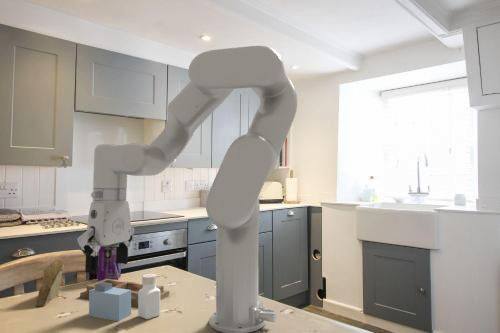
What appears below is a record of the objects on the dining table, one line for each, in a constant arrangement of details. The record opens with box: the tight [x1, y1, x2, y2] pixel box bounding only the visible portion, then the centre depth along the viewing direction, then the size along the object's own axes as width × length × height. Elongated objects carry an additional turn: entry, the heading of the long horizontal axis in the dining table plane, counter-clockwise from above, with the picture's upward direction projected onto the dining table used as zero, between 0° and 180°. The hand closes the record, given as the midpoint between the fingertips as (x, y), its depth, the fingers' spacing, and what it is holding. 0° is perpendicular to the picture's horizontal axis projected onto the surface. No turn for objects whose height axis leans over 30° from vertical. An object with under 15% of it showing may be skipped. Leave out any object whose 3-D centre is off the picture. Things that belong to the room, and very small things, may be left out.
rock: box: [34, 260, 65, 307], centre depth 97 cm, size 11×9×10 cm
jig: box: [79, 279, 170, 307], centre depth 99 cm, size 22×10×3 cm, turn 68°
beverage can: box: [96, 244, 122, 281], centre depth 116 cm, size 7×7×12 cm
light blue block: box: [88, 282, 132, 322], centre depth 86 cm, size 9×4×7 cm, turn 68°
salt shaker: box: [137, 273, 161, 320], centre depth 85 cm, size 4×4×10 cm
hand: (107, 267), depth 86 cm, fingers open, 9 cm apart
